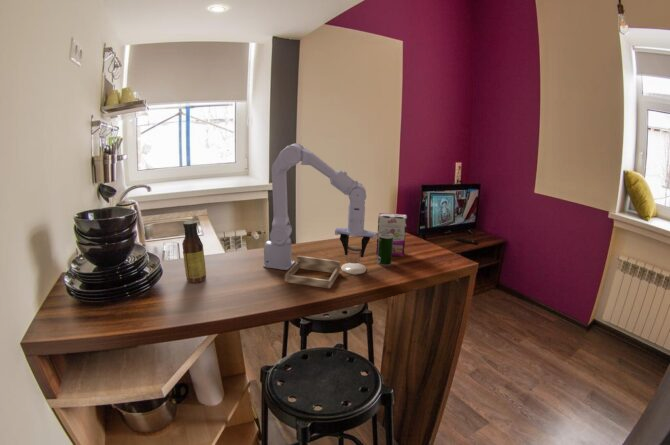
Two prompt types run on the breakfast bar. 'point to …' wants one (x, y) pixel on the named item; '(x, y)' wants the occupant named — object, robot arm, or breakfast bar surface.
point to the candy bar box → (393, 231)
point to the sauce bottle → (193, 254)
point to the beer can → (385, 248)
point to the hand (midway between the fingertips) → (354, 255)
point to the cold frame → (315, 265)
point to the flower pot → (353, 254)
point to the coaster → (353, 268)
